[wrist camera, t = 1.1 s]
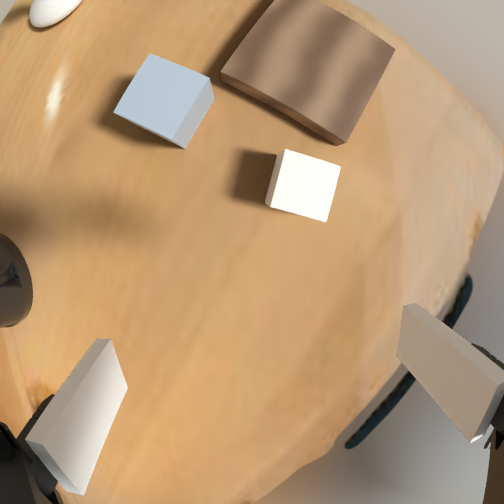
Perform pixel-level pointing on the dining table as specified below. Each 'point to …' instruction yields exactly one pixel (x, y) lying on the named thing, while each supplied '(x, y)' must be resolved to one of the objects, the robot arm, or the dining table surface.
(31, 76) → the dining table surface
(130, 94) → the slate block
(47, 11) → the flower in vase
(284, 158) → the white cube
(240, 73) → the walnut block
